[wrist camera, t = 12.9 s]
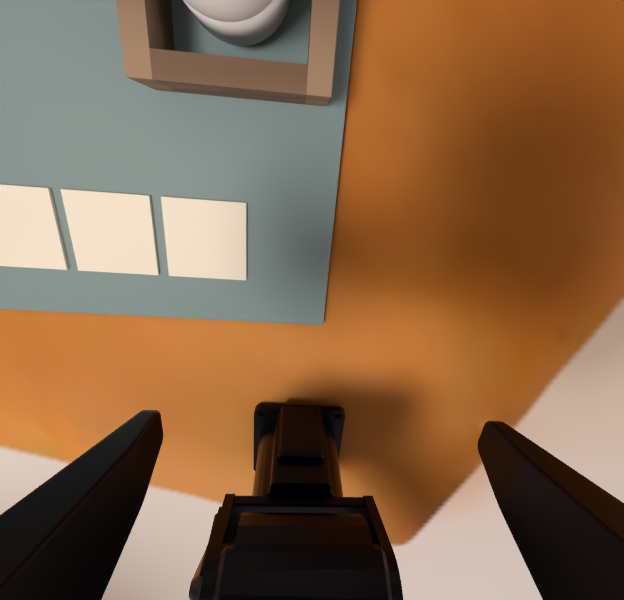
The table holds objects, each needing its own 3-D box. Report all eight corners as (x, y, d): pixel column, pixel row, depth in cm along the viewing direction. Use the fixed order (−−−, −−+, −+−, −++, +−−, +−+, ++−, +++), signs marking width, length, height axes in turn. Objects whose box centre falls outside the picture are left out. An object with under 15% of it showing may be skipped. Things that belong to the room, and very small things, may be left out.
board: (322, 322, 21) (323, 326, 21) (-152, 297, 19) (-165, 302, 19) (368, -119, 13) (371, -131, 13) (-437, -236, 11) (-474, -256, 11)
